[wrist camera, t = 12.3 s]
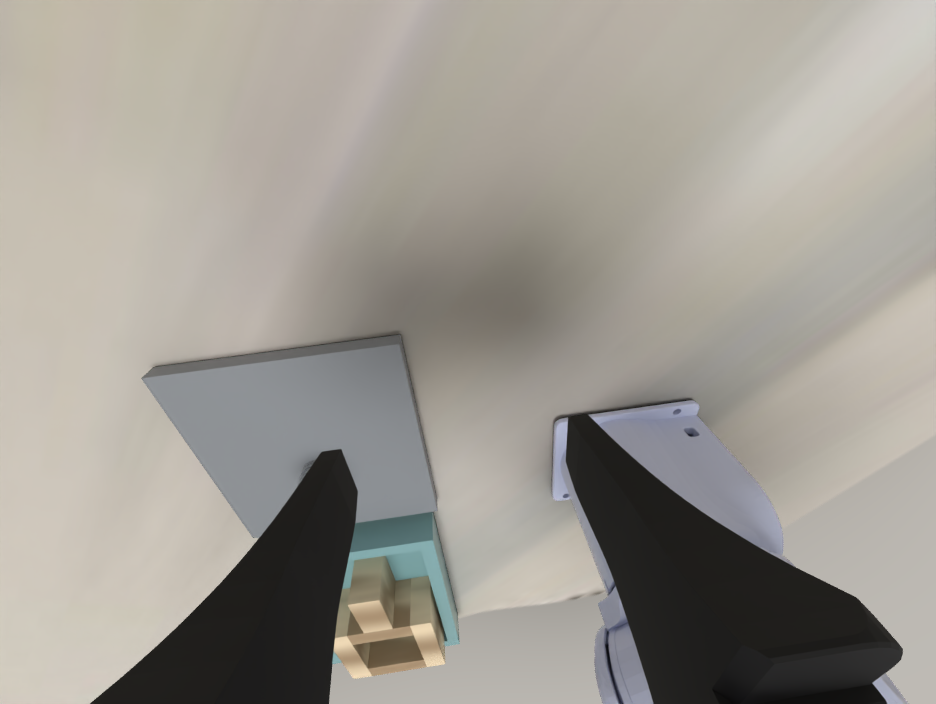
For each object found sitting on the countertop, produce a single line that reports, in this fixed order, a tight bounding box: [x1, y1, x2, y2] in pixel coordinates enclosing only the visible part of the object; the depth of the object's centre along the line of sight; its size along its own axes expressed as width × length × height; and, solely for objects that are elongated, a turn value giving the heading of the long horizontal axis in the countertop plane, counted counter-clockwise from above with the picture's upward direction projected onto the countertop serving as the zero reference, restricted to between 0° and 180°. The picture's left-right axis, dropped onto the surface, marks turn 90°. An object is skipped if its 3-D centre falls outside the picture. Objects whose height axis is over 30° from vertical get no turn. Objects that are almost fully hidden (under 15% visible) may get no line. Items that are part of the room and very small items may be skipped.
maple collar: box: [334, 556, 445, 679], centre depth 31 cm, size 12×8×4 cm, turn 6°
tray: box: [332, 512, 459, 664], centre depth 32 cm, size 12×17×2 cm
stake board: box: [141, 335, 437, 538], centre depth 22 cm, size 14×13×5 cm
